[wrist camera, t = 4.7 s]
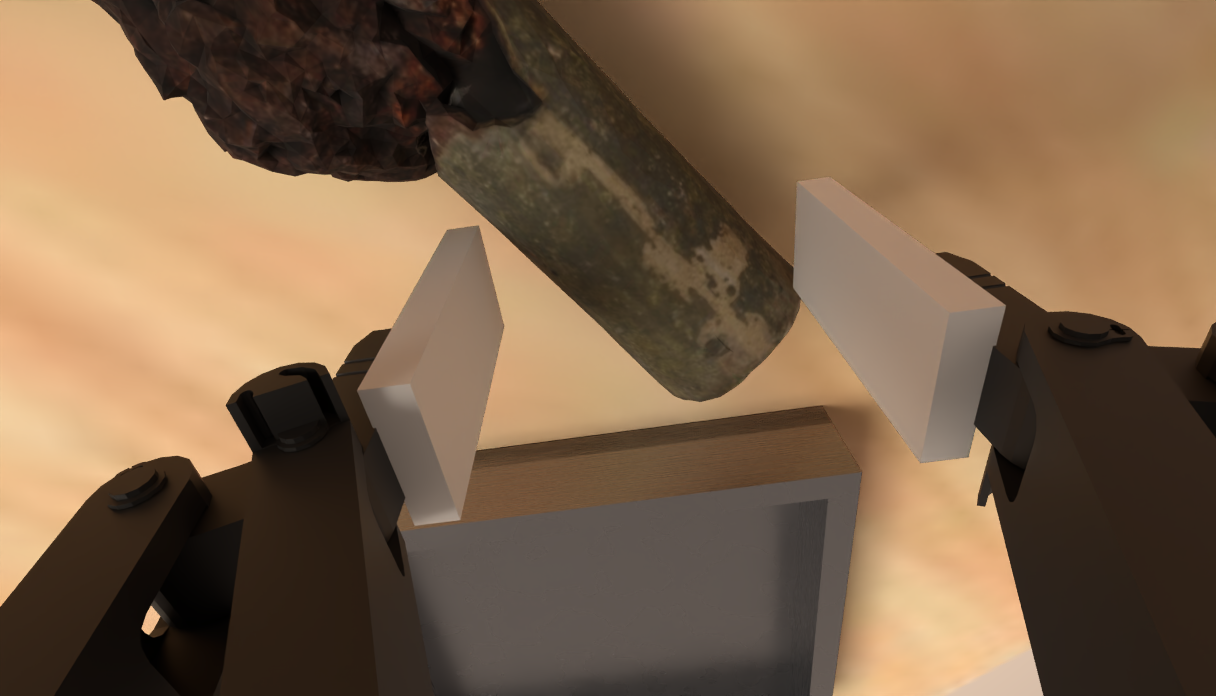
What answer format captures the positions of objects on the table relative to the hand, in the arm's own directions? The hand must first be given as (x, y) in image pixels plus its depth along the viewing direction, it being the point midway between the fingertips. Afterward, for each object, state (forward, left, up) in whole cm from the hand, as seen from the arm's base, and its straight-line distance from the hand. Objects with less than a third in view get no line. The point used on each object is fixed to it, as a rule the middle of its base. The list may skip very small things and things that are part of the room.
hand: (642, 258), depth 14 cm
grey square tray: (+18, -3, -4) cm, 19 cm away
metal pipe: (0, +1, -7) cm, 7 cm away
